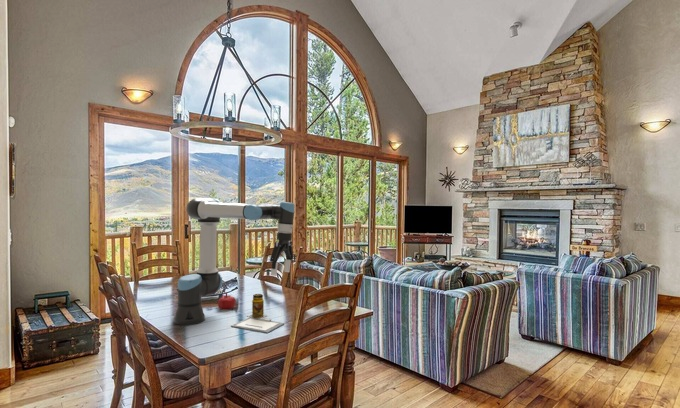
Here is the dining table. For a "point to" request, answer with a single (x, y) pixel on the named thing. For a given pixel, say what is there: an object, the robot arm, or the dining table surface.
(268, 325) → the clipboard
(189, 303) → the robot arm
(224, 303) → the pomegranate
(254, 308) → the condiment
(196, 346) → the dining table surface
